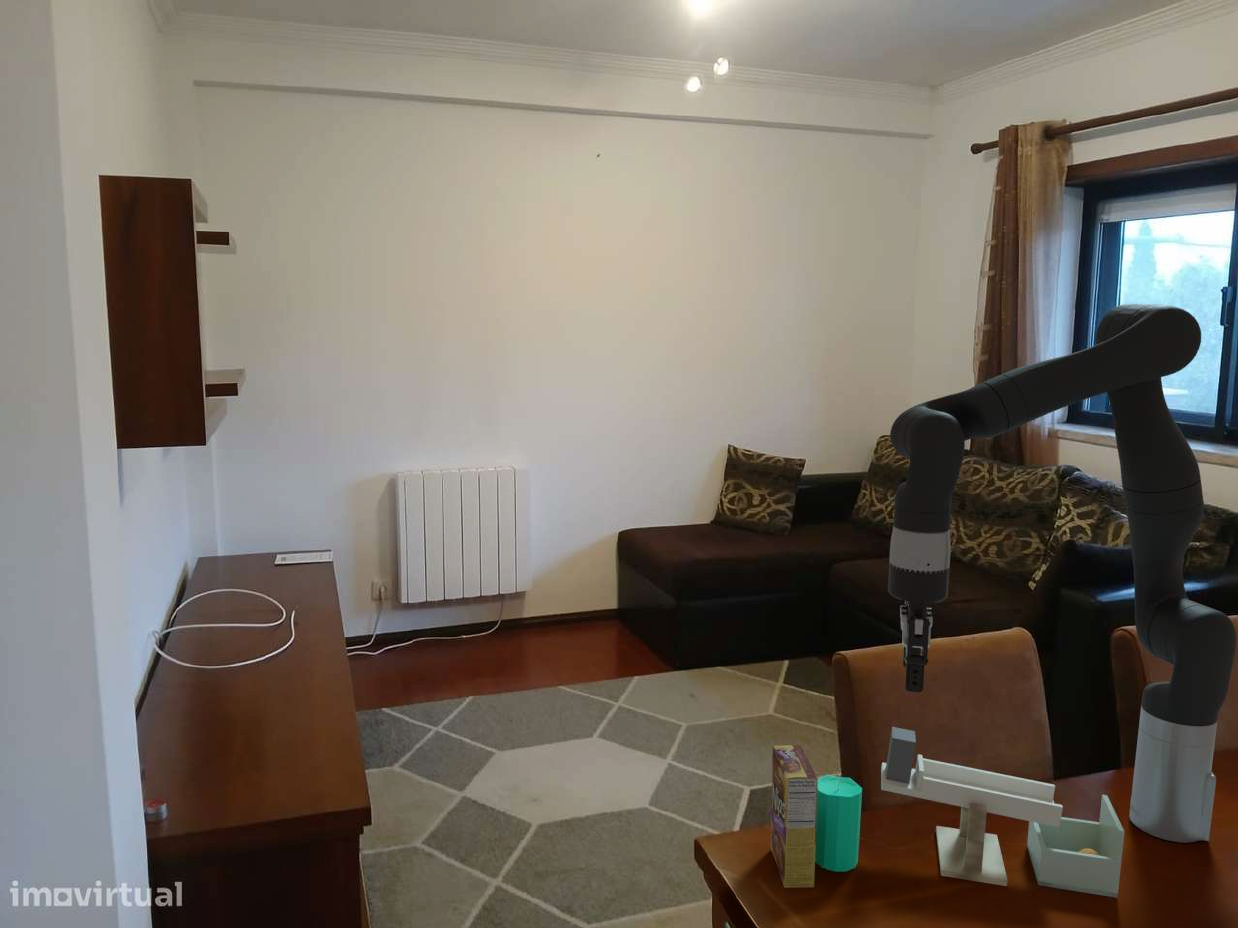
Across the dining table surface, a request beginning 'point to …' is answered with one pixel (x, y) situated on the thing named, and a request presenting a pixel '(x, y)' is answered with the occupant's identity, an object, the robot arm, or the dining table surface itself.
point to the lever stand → (971, 849)
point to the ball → (1088, 851)
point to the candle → (837, 823)
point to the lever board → (965, 784)
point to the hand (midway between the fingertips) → (912, 678)
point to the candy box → (793, 816)
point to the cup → (1071, 869)
